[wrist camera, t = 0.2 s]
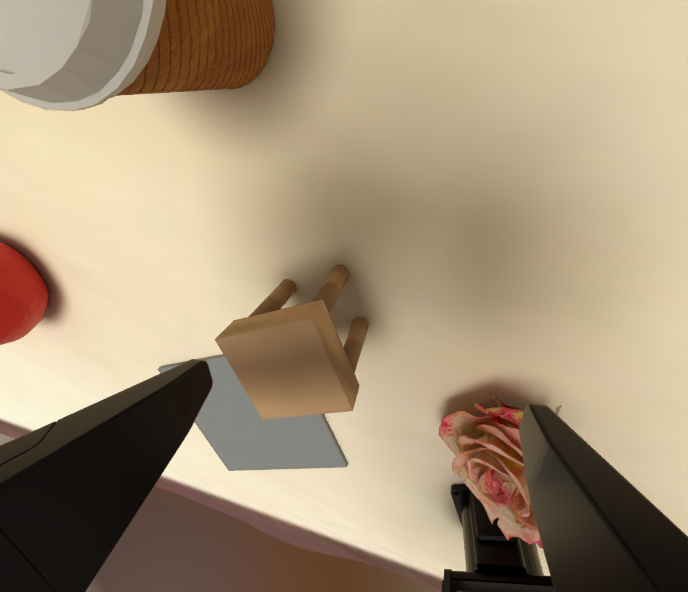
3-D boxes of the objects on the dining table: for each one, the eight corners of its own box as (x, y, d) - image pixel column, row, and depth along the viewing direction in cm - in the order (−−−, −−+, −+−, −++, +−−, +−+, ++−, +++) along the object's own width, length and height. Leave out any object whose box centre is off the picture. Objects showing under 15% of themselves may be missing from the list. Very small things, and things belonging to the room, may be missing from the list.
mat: (347, 463, 32) (347, 467, 32) (230, 467, 38) (228, 470, 37) (287, 342, 27) (285, 344, 27) (160, 366, 32) (157, 369, 32)
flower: (613, 391, 20) (569, 466, 16) (617, 509, 22) (579, 607, 18) (471, 361, 28) (414, 405, 23) (483, 451, 30) (432, 508, 25)
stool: (373, 331, 24) (352, 410, 18) (305, 344, 27) (262, 419, 20) (347, 259, 22) (311, 318, 15) (275, 279, 24) (214, 339, 17)
